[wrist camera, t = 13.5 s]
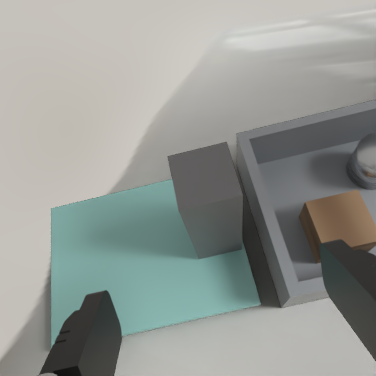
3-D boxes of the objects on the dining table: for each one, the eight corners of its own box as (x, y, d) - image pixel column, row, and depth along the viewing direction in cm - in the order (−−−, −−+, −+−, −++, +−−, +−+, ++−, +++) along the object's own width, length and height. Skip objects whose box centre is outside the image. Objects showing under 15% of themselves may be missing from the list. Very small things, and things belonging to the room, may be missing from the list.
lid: (222, 174, 31) (213, 87, 21) (259, 306, 26) (272, 272, 16) (58, 214, 32) (-26, 147, 22) (59, 352, 26) (-53, 348, 16)
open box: (417, 121, 31) (447, 82, 26) (507, 257, 25) (566, 235, 20) (237, 164, 31) (236, 133, 27) (281, 308, 25) (290, 297, 21)
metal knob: (361, 146, 30) (373, 125, 27) (400, 169, 28) (417, 149, 26) (337, 172, 29) (347, 154, 26) (376, 197, 27) (390, 180, 25)
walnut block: (346, 205, 27) (358, 189, 25) (368, 252, 26) (382, 239, 23) (298, 216, 28) (305, 201, 25) (316, 263, 26) (325, 252, 23)
